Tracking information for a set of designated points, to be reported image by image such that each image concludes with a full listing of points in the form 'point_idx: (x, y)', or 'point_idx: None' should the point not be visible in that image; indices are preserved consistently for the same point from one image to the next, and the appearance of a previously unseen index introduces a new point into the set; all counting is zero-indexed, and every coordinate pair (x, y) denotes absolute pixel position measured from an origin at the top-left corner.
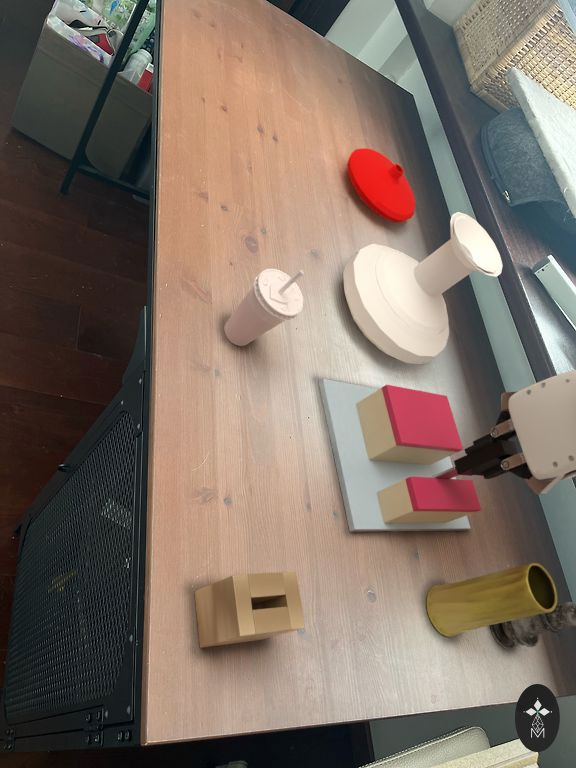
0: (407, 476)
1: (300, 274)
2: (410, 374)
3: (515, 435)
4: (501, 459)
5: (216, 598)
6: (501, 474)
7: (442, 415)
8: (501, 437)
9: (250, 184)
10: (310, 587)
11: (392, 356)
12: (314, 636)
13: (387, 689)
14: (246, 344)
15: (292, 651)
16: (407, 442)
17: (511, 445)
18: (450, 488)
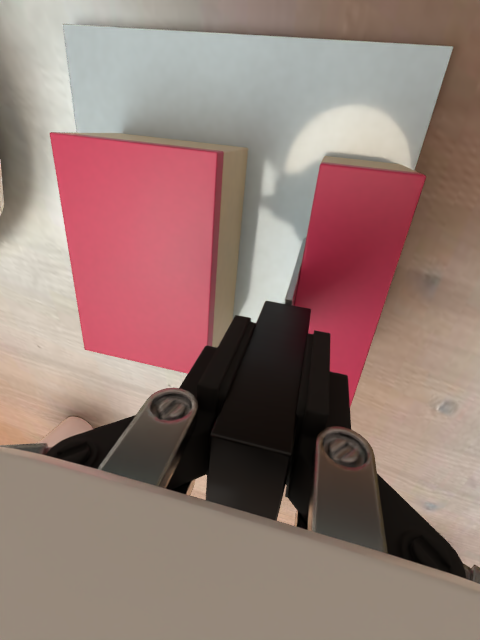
0: (269, 245)
1: None
2: (19, 73)
3: (179, 455)
4: (290, 476)
5: None
6: (348, 402)
7: (118, 197)
8: (194, 476)
9: None
10: (390, 478)
11: (2, 193)
12: (447, 497)
13: None
14: (90, 426)
15: (447, 522)
16: None
17: (233, 469)
18: (326, 287)
